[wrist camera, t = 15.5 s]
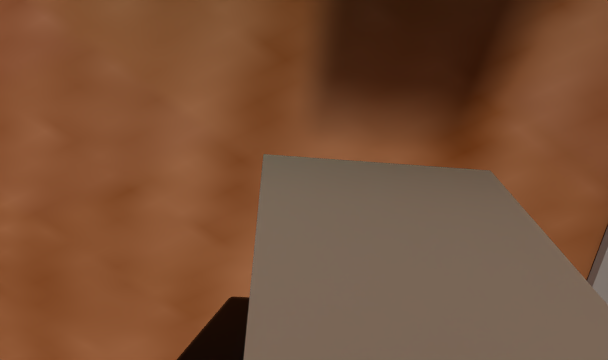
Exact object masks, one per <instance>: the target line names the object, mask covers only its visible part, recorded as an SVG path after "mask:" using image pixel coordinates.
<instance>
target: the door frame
mask: <svg viewBox="0 0 608 360" xmlns="http://www.w3.org/2000/svg"><path fill="white" fill-rule="evenodd" d="M587 282H588V283H589V284H590V285H591V286H592V288H593V289H594V290H595V291H596V292H597V293H598V294H599V296H600V297H601V298H602V299H603V300H604V301H605V302H606V304H607V305H608V227H607V229H606V232H605V235H604V237H603V240H602V243H601V245H600V248H599V251H598V253H597V256H596V259H595V261H594V264H593V266H592V269H591V272H590V274H589V277H588V280H587Z"/></svg>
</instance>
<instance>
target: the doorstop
mask: <svg viewBox="0 0 608 360" xmlns="http://www.w3.org/2000/svg"><path fill="white" fill-rule="evenodd" d="M244 360H608V305H607V304H606V302H605V301H604V300H603V299H602V298H601V297H600V296H599V294H598V293H597V292H596V291H595V290H594V289H593V288H592V286H591V285H590V284H589V283H588V282H587V281H586V280H585V278H584V277H583V276H582V275H581V274H580V273H579V272H578V270H577V269H576V268H575V267H574V266H573V265H572V264H571V262H570V261H569V260H568V259H567V258H566V257H565V256H564V254H563V253H562V252H561V251H560V250H559V249H558V247H557V246H556V245H555V244H554V243H553V242H552V241H551V239H550V238H549V237H548V236H547V235H546V234H545V233H544V231H543V230H542V229H541V228H540V227H539V226H538V225H537V223H536V222H535V221H534V220H533V219H532V218H531V217H530V215H529V214H528V213H527V212H526V211H525V210H524V209H523V207H522V206H521V205H520V204H519V203H518V202H517V201H516V199H515V198H514V197H513V196H512V195H511V194H510V193H509V191H508V190H507V189H506V188H505V187H504V186H503V185H502V183H501V182H500V181H499V180H498V179H497V178H496V177H495V175H494V174H493V173H492V172H491V171H488V170H474V169H460V168H446V167H433V166H419V165H405V164H391V163H377V162H363V161H349V160H335V159H321V158H307V157H294V156H280V155H266V154H264V155H263V165H262V175H261V186H260V196H259V206H258V216H257V227H256V237H255V247H254V257H253V268H252V278H251V288H250V298H249V309H248V319H247V329H246V339H245V349H244Z"/></svg>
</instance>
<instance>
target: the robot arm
mask: <svg viewBox="0 0 608 360" xmlns="http://www.w3.org/2000/svg"><path fill="white" fill-rule="evenodd" d="M248 309H249V298H248V297H231V298H229V299H228V300H227V301H226V302H225V304H224V305H223V306H222V307H221V308H220V309H219V311H218V312H217V313H216V314H215V315H214V316H213V318H212V319H211V320H210V321H209V322H208V323H207V325H206V326H205V327H204V328H203V329H202V331H201V332H200V333H199V334H198V335H197V336H196V338H195V339H194V340H193V341H192V342H191V343H190V345H189V346H188V347H187V348H186V349H185V350H184V352H183V353H182V354H181V355H180V356H179V357H178V359H177V360H244V349H245V339H246V329H247V319H248Z"/></svg>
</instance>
